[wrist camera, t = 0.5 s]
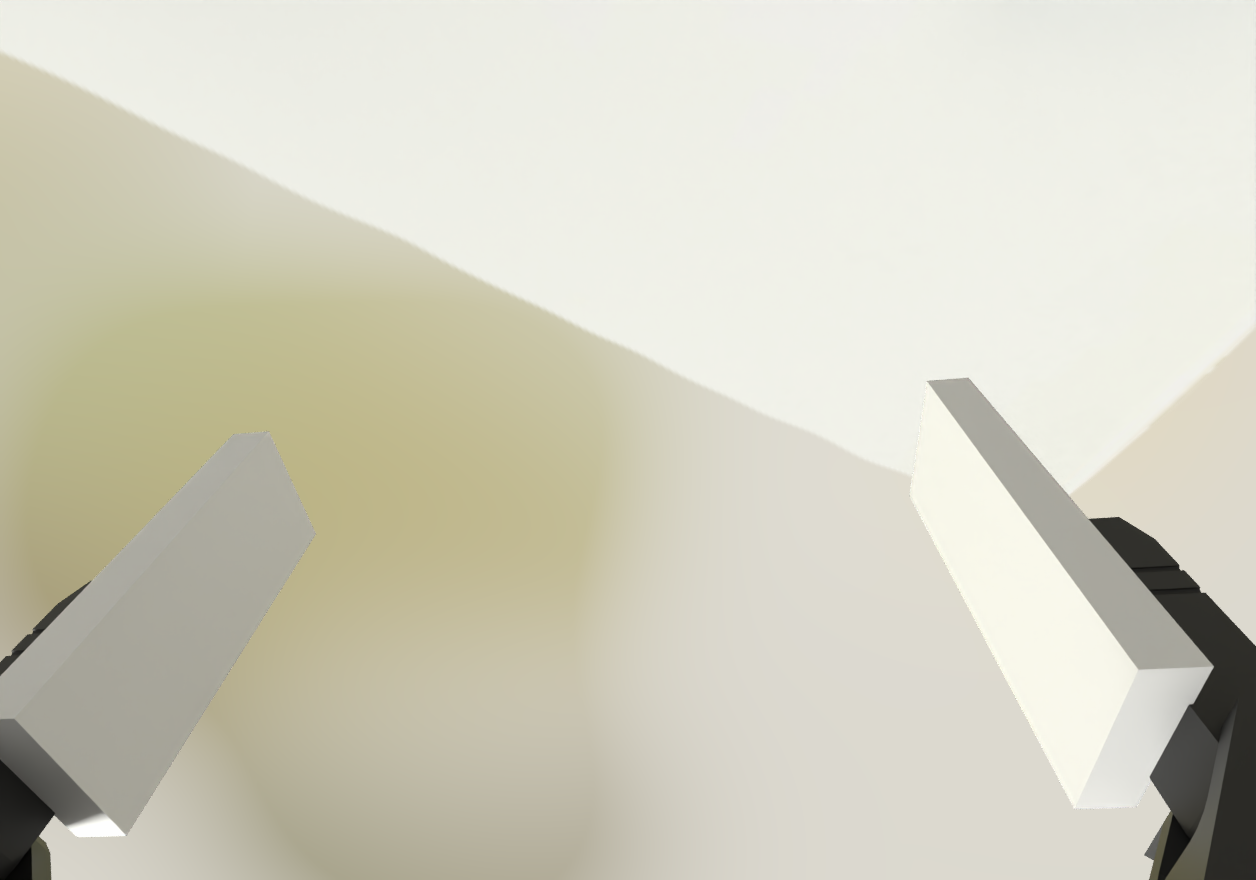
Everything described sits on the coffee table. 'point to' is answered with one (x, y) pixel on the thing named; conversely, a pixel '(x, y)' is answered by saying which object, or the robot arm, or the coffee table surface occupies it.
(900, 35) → the coffee table surface
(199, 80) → the coffee table surface
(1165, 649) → the robot arm
